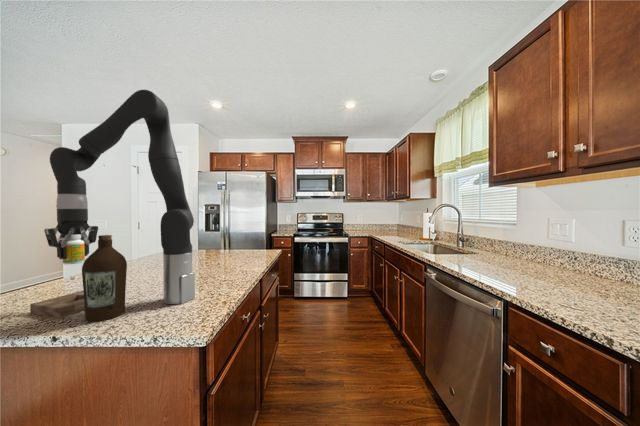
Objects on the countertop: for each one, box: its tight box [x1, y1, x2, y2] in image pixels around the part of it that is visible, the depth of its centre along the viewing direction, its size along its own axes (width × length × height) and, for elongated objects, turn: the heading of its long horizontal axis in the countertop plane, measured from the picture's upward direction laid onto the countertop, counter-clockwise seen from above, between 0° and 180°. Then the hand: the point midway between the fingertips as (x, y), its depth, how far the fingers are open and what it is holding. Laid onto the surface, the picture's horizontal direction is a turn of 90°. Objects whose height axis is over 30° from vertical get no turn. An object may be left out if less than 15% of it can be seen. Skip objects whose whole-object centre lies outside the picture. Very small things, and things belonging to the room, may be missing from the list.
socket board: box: [29, 290, 85, 319], centre depth 84 cm, size 14×14×3 cm
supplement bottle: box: [62, 234, 86, 265], centre depth 85 cm, size 5×5×10 cm
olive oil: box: [81, 234, 128, 323], centre depth 77 cm, size 11×11×25 cm
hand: (74, 257), depth 85 cm, fingers closed on supplement bottle, 5 cm apart
